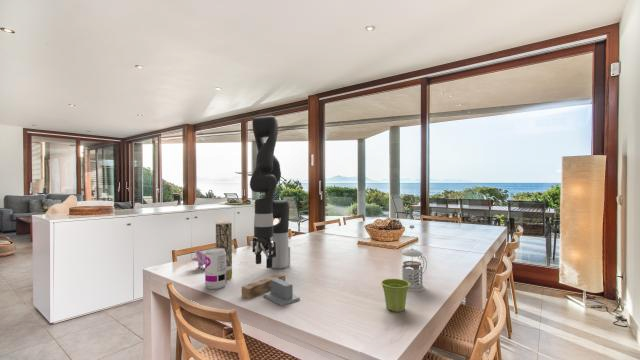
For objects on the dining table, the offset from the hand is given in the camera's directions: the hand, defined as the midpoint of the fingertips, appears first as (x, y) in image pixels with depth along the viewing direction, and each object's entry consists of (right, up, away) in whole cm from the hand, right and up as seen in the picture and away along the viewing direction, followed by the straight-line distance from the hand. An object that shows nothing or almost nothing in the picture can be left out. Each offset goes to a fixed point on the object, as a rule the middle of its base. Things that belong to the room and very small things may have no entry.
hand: (263, 265), depth 126 cm
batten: (0, -10, 0) cm, 10 cm away
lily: (-35, -10, +31) cm, 48 cm away
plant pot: (+48, -10, -19) cm, 52 cm away
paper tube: (-20, -10, +16) cm, 27 cm away
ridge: (+8, -10, -9) cm, 15 cm away
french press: (+60, -9, +2) cm, 61 cm away
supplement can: (-21, -10, +5) cm, 23 cm away
